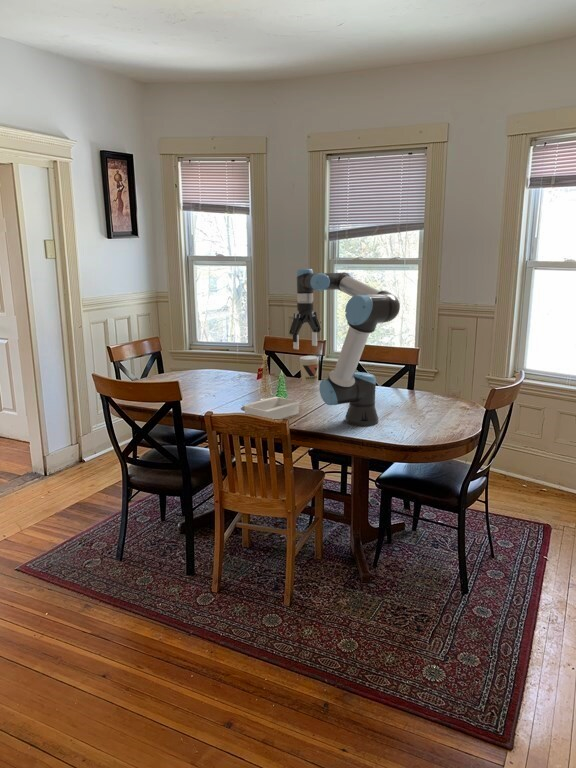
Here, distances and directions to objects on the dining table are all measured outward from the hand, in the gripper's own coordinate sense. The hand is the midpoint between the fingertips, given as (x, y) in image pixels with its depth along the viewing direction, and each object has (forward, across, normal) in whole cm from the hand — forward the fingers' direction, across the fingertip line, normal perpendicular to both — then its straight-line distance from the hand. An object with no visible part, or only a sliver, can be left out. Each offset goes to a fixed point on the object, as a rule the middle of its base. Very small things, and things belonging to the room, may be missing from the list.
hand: (305, 347), depth 273 cm
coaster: (+31, +15, -22) cm, 41 cm away
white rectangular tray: (+31, +17, -6) cm, 36 cm away
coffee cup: (+17, -2, 0) cm, 17 cm away
